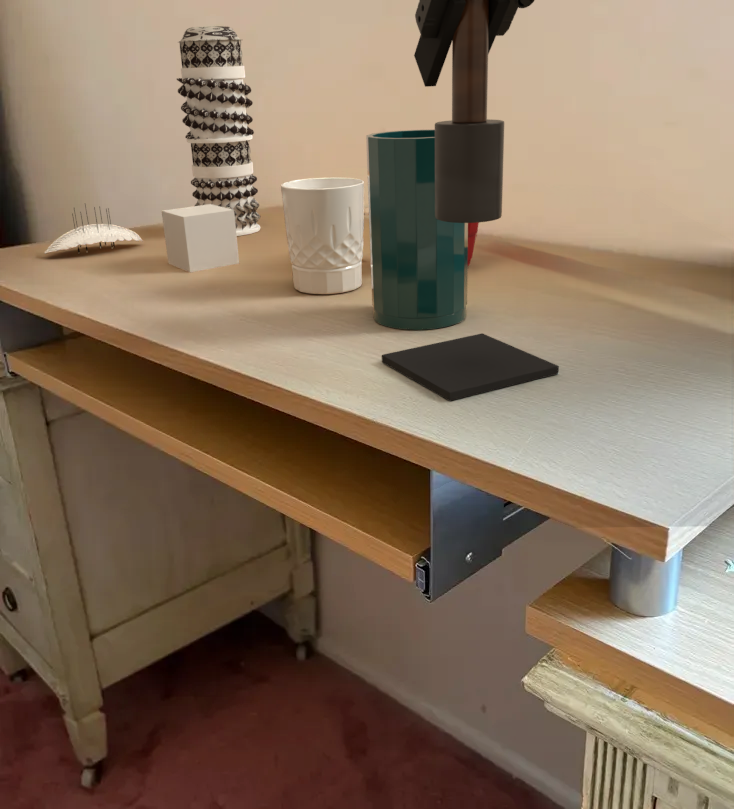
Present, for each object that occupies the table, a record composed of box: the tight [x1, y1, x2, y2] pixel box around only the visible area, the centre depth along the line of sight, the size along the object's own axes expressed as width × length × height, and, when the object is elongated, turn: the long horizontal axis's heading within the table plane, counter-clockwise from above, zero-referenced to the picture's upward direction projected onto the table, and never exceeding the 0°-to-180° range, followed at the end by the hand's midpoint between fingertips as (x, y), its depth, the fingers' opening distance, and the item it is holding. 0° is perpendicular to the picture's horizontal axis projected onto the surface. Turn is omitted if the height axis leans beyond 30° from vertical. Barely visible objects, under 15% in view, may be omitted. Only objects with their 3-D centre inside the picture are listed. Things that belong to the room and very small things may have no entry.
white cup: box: [280, 176, 365, 295], centre depth 80 cm, size 8×8×10 cm
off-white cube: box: [161, 204, 240, 273], centre depth 93 cm, size 6×6×6 cm
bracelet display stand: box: [176, 25, 261, 237], centre depth 107 cm, size 9×9×25 cm
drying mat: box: [381, 333, 560, 402], centre depth 59 cm, size 9×9×1 cm
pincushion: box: [43, 204, 144, 254], centre depth 101 cm, size 12×6×6 cm, turn 122°
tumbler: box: [365, 128, 469, 331], centre depth 69 cm, size 8×8×15 cm
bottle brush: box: [434, 0, 505, 223], centre depth 51 cm, size 4×4×21 cm
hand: (445, 69), depth 55 cm, fingers closed on bottle brush, 2 cm apart
